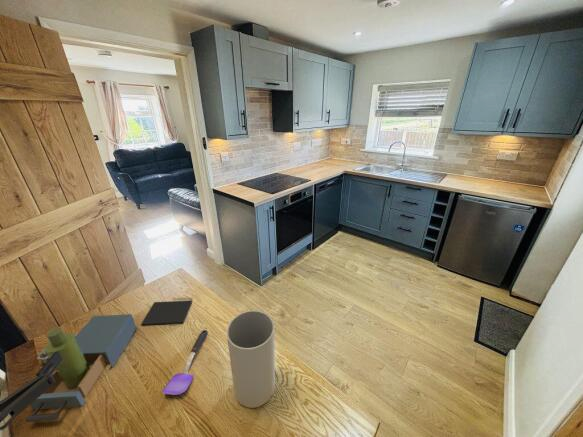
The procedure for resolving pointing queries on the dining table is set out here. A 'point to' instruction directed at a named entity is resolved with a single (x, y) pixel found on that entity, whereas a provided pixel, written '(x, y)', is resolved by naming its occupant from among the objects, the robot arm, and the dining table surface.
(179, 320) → the mat
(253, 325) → the cylinder vase
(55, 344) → the oil bottle
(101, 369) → the drawer
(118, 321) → the cabinet
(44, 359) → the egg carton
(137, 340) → the dining table surface
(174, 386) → the spatula
